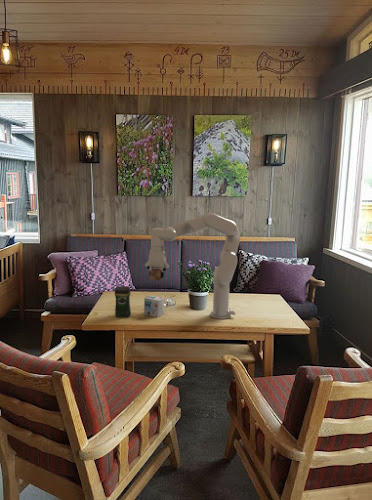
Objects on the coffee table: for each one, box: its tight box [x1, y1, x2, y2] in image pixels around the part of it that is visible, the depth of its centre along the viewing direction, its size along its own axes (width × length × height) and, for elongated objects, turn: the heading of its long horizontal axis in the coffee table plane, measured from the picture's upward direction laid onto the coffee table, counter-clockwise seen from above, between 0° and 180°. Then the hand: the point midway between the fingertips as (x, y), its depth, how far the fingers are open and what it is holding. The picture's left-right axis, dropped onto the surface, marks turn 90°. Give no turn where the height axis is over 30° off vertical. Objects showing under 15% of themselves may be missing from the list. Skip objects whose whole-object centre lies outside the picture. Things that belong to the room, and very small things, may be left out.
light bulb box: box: [143, 295, 165, 318], centre depth 252 cm, size 11×7×11 cm, turn 62°
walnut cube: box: [149, 267, 162, 281], centre depth 247 cm, size 6×6×6 cm
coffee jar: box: [114, 285, 132, 319], centre depth 247 cm, size 10×8×19 cm
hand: (156, 277), depth 247 cm, fingers closed on walnut cube, 6 cm apart
